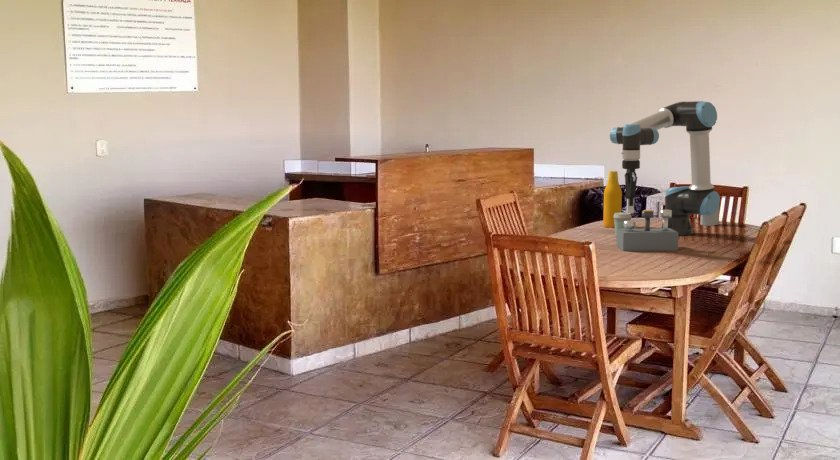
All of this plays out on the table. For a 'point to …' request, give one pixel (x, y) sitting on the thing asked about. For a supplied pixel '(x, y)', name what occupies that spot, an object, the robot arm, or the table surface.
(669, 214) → the knob
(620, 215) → the coffee cup
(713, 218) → the cup
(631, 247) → the console
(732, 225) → the table surface
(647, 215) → the pot knob
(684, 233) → the robot arm
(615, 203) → the beer bottle
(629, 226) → the knob
